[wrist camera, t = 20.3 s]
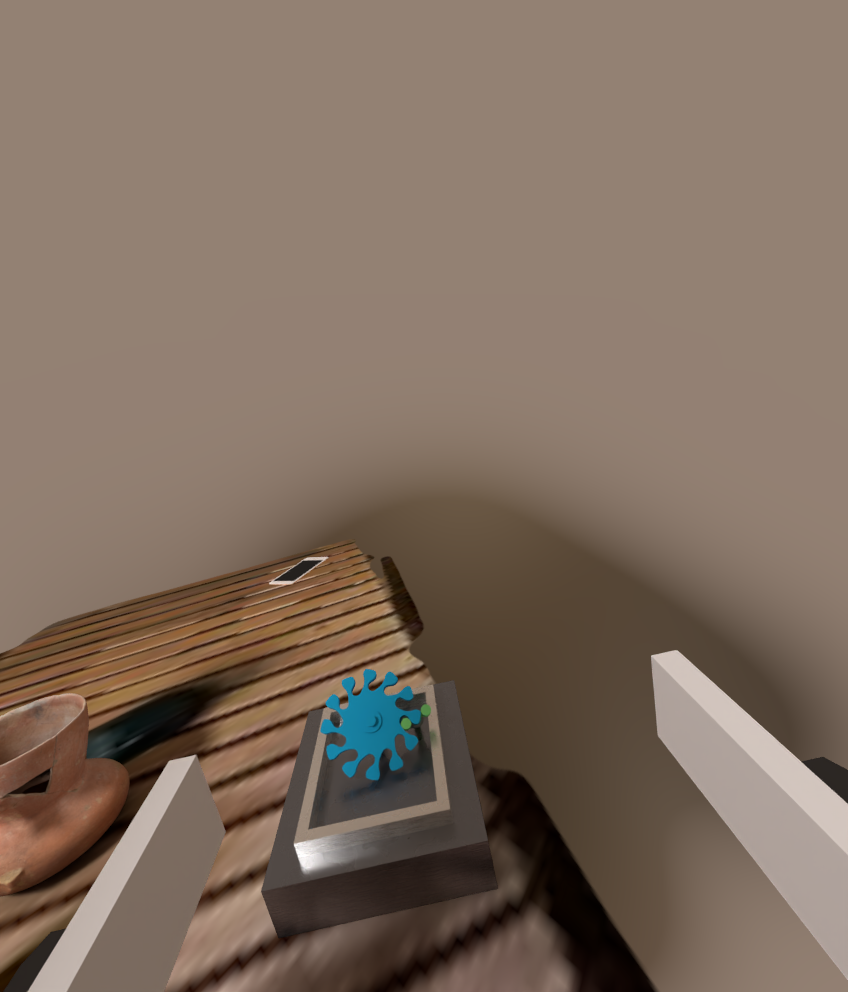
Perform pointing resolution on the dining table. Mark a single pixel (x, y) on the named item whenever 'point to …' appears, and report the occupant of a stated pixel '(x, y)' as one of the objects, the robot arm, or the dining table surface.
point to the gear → (373, 723)
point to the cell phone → (298, 571)
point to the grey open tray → (379, 825)
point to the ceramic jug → (51, 790)
